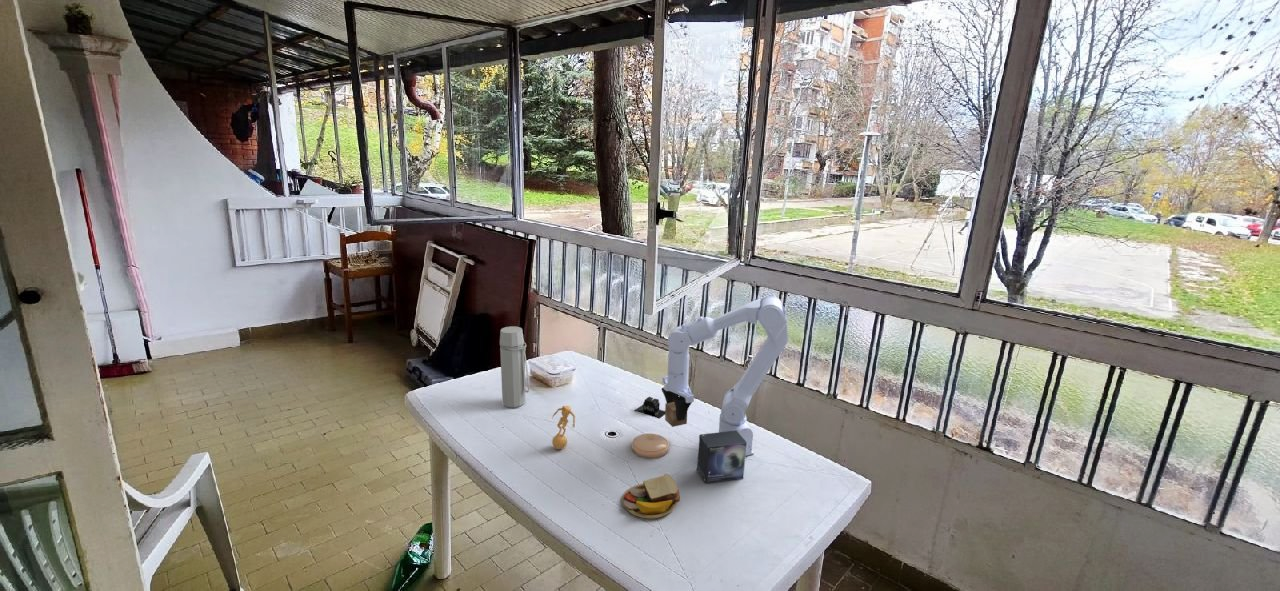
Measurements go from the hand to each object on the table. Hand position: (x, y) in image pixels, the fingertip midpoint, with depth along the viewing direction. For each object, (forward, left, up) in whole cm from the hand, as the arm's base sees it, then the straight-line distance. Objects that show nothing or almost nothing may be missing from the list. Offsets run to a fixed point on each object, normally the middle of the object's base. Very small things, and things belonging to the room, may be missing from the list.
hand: (676, 415), depth 152 cm
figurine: (+9, +31, -8) cm, 33 cm away
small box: (-19, -2, -8) cm, 21 cm away
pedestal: (-1, +9, -8) cm, 11 cm away
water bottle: (+39, +37, -8) cm, 54 cm away
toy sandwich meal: (-22, +19, -8) cm, 30 cm away
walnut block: (0, 0, -2) cm, 2 cm away
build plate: (+18, -1, -8) cm, 20 cm away
